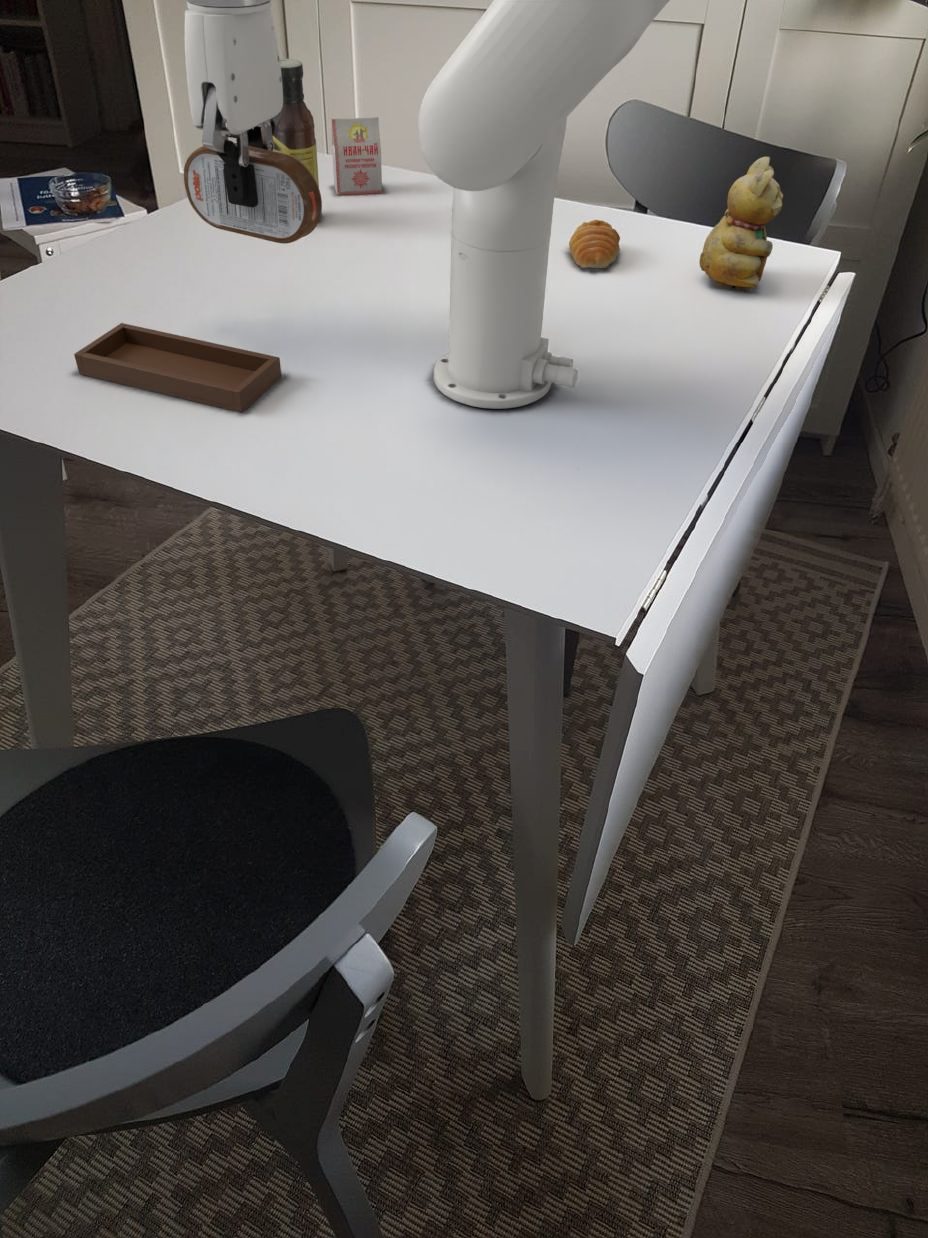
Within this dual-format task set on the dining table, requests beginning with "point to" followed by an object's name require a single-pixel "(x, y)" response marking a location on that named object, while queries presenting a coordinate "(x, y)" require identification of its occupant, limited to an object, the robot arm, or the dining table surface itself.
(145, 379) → the tray
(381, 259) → the dining table surface
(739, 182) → the decorative figurine
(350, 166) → the tea box
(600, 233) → the pastry
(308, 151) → the sauce bottle
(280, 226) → the tin
